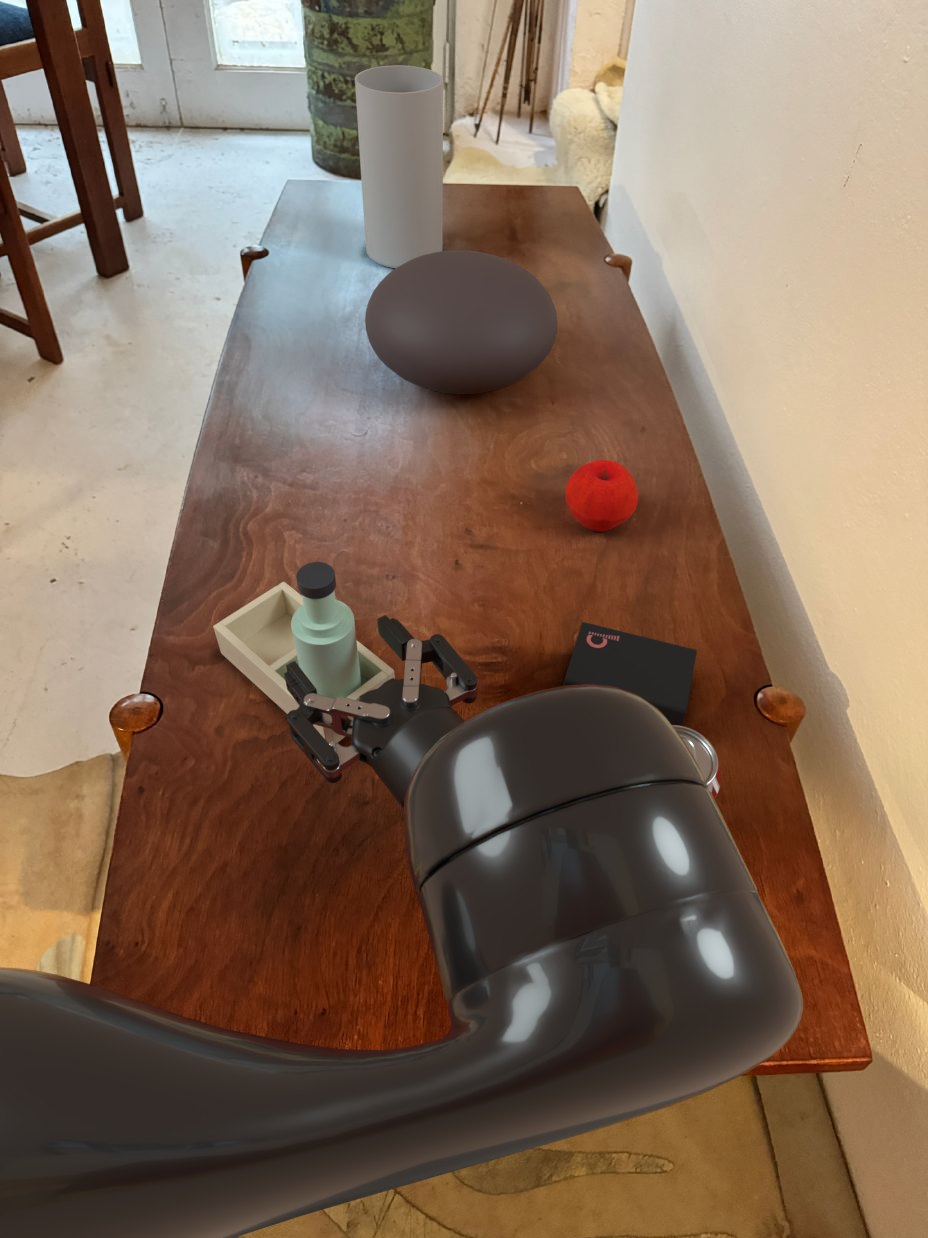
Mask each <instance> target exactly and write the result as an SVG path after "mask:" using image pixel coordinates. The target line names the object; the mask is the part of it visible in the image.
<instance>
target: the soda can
mask: <svg viewBox="0 0 928 1238" xmlns="http://www.w3.org/2000/svg"><path fill="white" fill-rule="evenodd" d="M672 726H673V727H674V729H675V730H676V731H677V732H678V734H679V735H680V737H681V738H682V739H683V741H684V742H685V744H686V745H687V747H688V748H689V750H690V752H691V753H692V755H693V757H694V758H695V760H696V762H697V764H698V766H699V768H700V770H701V772H702V774H703V776H704V778H705V781H706V783H707V785H708V787H709V791H710V792H711V793H712V795H713V797H714V799H716V797H717V795H718V793H719V791H720V788H721V782H722V774H721V769H720V765H719V758H718V755H717V751H716V749H715V748H714V746H713V745H712V743H711V742H710V741H709V739H707V738H706V737H705V736H704V735H703V734H702V733H699V732H698V731H696V730H694V729H692V728H690V727H687V726H683V725H681V726H678V725H672Z"/></svg>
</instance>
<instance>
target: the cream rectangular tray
mask: <svg viewBox="0 0 928 1238" xmlns="http://www.w3.org/2000/svg"><path fill="white" fill-rule="evenodd" d="M302 605H303V598H302V594H301V593H300V592H299V591H298V592H297V591H296V590H295V588H293V587H292V586H290V585H289V584H288V583H287V582H286V581H282V582H280V583H279V584H278V585H275V586H273V587H272V588H271V589H269V590H268V591H265V593H263V594H261V595H260V596H258V597H257V598H255V599H253V600H252V601H250V602H248V603H247V604H246V605H244V606H242V607H241V608H239V609H237V610H236V611H234V612H233V613H231V614H229V615H228V616H226V617H224V618H223V619H222V620H220V621H218V622H217V623H216V624H214V625H213V626H212V627H213V631H214V634H215V637H216V640H217V644H218V647H219V651H220V654H221V655H222V656H223V657H225V659H226V660H228V661H229V662H230V663H231V664H232V665H233V666H234V667H236V669H238V670H239V671H240V673H242V674H243V675H244V676H245V677H246V678H247V679H248V680H249V681H250V682H251V683H252V684H254V685H255V686H256V687H257V688H258V689H259V690H261V691H262V692H263V693H264V694H265V695H266V696H267V697H268V698H269V699H270V700H271V701H273V703H275V705H277V707H279V708H280V709H281V710H282V711H283V712H284V713H286V715H287V714H288V713H289V712H290V711H292V710H297V709H298V707H299V705H298V703H297V702H296V701H295V699H294V698H293V696H292V695H291V694H290V692H289V691H288V690H287V686H286V681H285V676H284V673H286V672H287V668H286V665H287V664H289V663H291V662H293V661H295V662H296V663H297V664H298V666H299V663H298V658H297V653H296V648H295V643H294V638H293V633H292V628H291V620H292V617H293V615H294V613H295V612H296V610H297V609H298V608H299V607H301V606H302ZM357 649H358V658H359V667H360V676H361V685H362V686H361V687H360V688H358V689H357V690H356V691H354V692H353V693H352V694H350V695H349V696H348V697H346V698H349V699H353V700H357V701H359V700H360V698H359V696H360V695H362V694H364V693H366V692H368V691H371V690H375V689H378V688H379V687H380V686H381V685H382V684H383V683H385V682H386V681H388V680H390V679H391V678H394V679H395V678H396V675H395V670H394V669H393V668H392V667H391V666H389V665H388V664H387V663H386V662H385V661H383V660H382V659H381V658H380V657H378V656H377V655H376V654H375V653H373V652H372V651H371V650H370V649H368V648H367V647H366V646H365V645H363V644H362V643H361V642H360V641H358V640H357ZM395 680H396V679H395ZM348 718H349V719H350V720H352V721H353V717H350V716H348ZM313 726H314V727H315V728H316V730H317V731H318V732H319V733H320V734H321V735H322V737H323V738H324V739H325V740H326V741H327V742H328V743H330V742H331V741H334V742H335V743H338V744H339V742H340V741H342V740H343V739H344V738H345V737H346V736H343V735H339V734H337V733H335V732H334V731H333V730H332V729H329V728H326V727H322V726H318V725H313Z"/></svg>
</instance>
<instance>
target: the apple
mask: <svg viewBox="0 0 928 1238" xmlns="http://www.w3.org/2000/svg"><path fill="white" fill-rule="evenodd" d="M638 502H639V492H638V487H637V486H636V482H635V480H634V477H633V475H632V474H631V473H630V472H629V469H627V468H626V467H625V466H624V465H623V464H621V463H619V462H617V461H615V460H610V459H596V460H593V461H590V462H587V463H584V464H583V465H581V466H580V467H578V468H577V469H576V470H575V471H574V472H573V473H572V475H570V477H569V479H568V480H567V483H566V486H565V503H566V505H567V507H568V510H569V512H570V513H571V515H572V516H573V518H574V519H575V521H577V522H578V523H579V524H580V525H581V526H583V527H584V528H585V529H587V530H588V529H589V530H590V531H593V532H594V531H595V532H599V533H603V532H608V531H611V530H612V529H614V528H616V527H618V526H619V525H621V524H624V523H625V522H626V521H628V520H629V519H630V518H631V517H632V515H633V514H634V512H635V511H636V510H637V506H638Z"/></svg>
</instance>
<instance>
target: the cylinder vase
mask: <svg viewBox="0 0 928 1238" xmlns="http://www.w3.org/2000/svg"><path fill="white" fill-rule="evenodd" d="M354 87H355V103H356V104H355V105H356V117H357V119H356V120H357V133H358V148H359V149H358V150H359V162H360V164H359V165H360V179H361V194H362V195H361V196H362V210H363V224H364V239H365V240H364V242H365V251H366V254H367V256H368V257H369V258H370V259H371V260H372V261H373V262H374V263H376V264H378V265H380V266H383V267H387V268H391V269H395V268H397V267H399V266H401V265H402V264H404V263H406V262H408V261H410V260H412V259H414V258H417V257H420V256H422V255H426V254H431V253H435V252H441V251H443V247H444V244H443V241H444V240H443V236H444V235H443V234H444V233H443V232H444V231H443V229H444V227H443V223H444V221H443V219H444V216H443V215H444V209H443V207H444V205H443V204H444V200H443V199H444V163H443V162H444V78H443V76H442V75H441V74H440V73H438V72H437V71H434V70H432V69H429V68H426V67H420V66H413V65H402V64H401V65H384V66H383V65H382V66H374V67H370V68H367V69H365V70H362V71H360V72H358V73H357V74H356V75H355V76H354Z"/></svg>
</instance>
